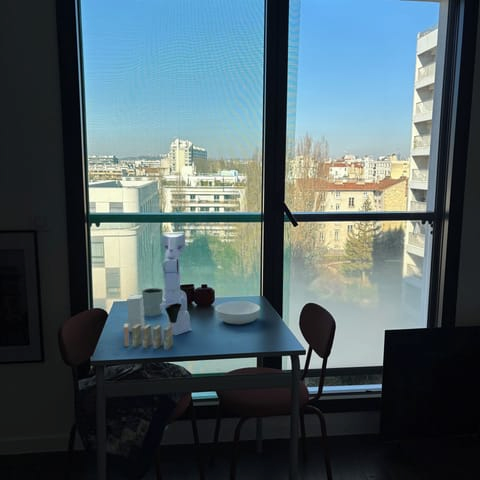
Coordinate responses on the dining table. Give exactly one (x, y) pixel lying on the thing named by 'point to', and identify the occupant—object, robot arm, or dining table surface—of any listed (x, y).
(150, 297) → the grey green plant pot
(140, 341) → the domino
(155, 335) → the domino
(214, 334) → the dining table surface
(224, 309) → the serving bowl
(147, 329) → the domino
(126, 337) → the end domino
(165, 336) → the domino
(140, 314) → the skincare box
